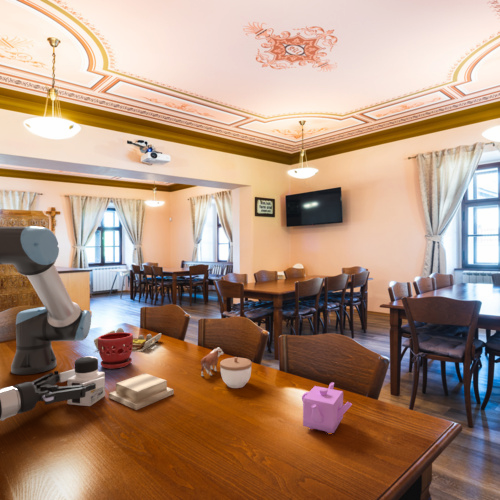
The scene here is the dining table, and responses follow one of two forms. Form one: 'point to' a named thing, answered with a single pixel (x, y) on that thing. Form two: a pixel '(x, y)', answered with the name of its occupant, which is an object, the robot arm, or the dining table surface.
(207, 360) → the bull figurine
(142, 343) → the toy food set
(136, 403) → the plinth
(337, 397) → the teapot
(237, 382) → the lidded jar
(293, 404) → the dining table surface
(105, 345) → the plant pot
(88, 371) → the container
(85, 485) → the dining table surface
